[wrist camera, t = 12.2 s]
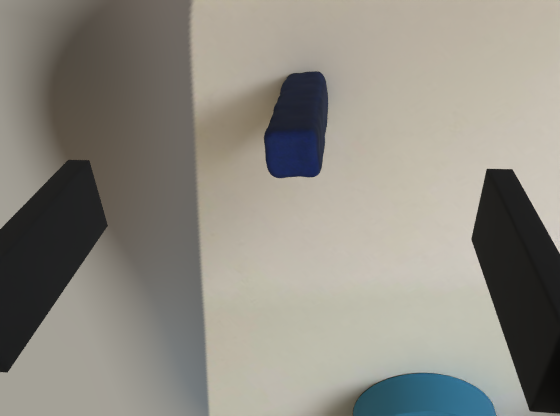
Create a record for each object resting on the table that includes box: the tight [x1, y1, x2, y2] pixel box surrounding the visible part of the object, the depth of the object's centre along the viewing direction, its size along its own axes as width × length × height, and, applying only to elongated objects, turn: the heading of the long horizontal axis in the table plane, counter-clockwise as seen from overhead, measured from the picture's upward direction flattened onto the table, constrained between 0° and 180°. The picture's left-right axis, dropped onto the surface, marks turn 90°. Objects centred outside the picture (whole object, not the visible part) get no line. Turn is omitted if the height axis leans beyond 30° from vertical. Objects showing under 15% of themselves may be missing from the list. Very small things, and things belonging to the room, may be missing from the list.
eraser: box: [264, 72, 328, 178], centre depth 22 cm, size 2×2×7 cm
